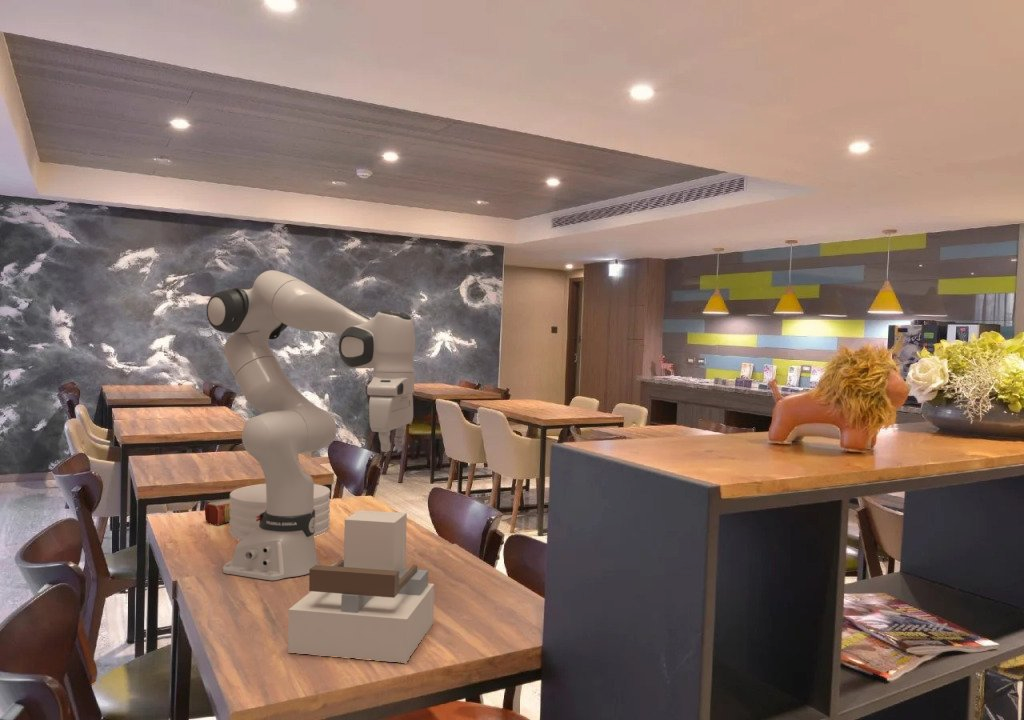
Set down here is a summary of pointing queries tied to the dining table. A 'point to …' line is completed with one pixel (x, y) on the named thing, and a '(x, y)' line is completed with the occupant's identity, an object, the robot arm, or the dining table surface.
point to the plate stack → (253, 503)
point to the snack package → (218, 512)
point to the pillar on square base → (367, 600)
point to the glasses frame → (357, 580)
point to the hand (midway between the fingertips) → (392, 448)
